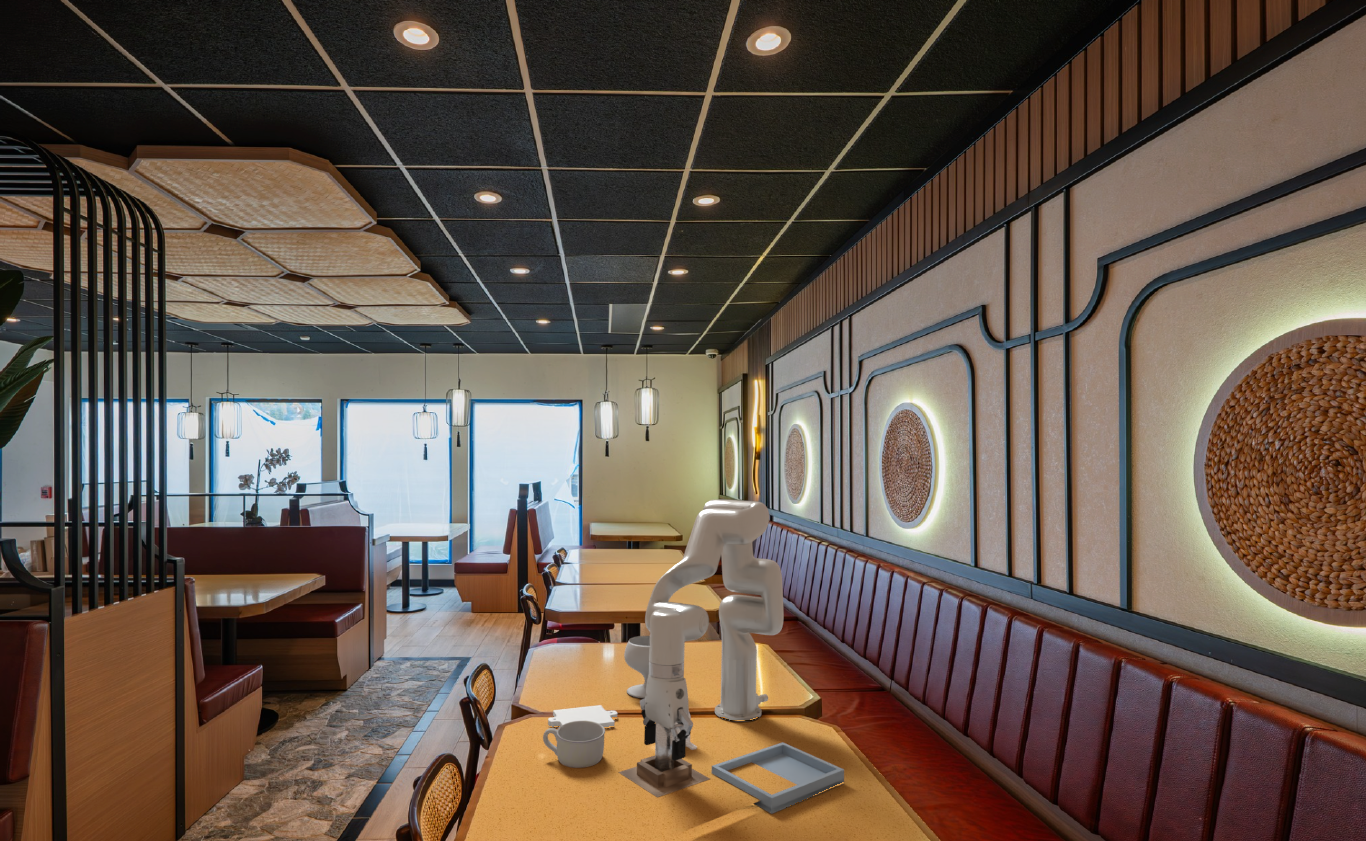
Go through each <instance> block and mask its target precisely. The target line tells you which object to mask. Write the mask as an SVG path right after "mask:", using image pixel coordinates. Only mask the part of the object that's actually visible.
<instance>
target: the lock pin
mask: <svg viewBox="0 0 1366 841" xmlns="http://www.w3.org/2000/svg"><path fill="white" fill-rule="evenodd" d="M674 725H675V723H674ZM673 740H674V737H673V734H672V732H671V729H668V728H666V727H664V726H662V725H660V724H658V723H656V741H655V743H654V745H655V747H654V749H655V750H654V756H655V769H657V770H659V771H660V772H664V771H667V770H670V769H673V768H674V760H672V741H673Z"/></svg>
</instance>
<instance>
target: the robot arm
mask: <svg viewBox="0 0 1366 841" xmlns="http://www.w3.org/2000/svg"><path fill="white" fill-rule="evenodd" d="M769 522H770V513H769V510H768V507H767V506H766V504H765V503H763V502H761V501H753V500H739V499H738V500H735V499H711V500H708V501H706V503H704V506H703V508H702V510H701V511H700V512H698V513H697V515H696V517H695V520H694V522H693V526H692V529H691V533H690V536H689V537H688V538H689V539H688V542H687V544H686V548H685V550H684V554H683V557H682V559H681V560H680V561H679V562H678V563H676V564H674V565H673V566H672V567H671V568H669V569H668V570H667V571H666V572H665V573H664V574H663V575H662V576H661V577H659V579H658V580H657V581H656V583H655V585H654V587H653V589H652V592H651V595H650V597H649V600H648V603H647V606H646V610H645V617H644V622H645V627H646V629H647V631H649V636H650V651H649V675H648V680H647V687H646V697H645V698H641V699H640V700H639V705H640V710H641V711H640V712H641V713H640V714H641V716H642V718H643V720H642V724H643V725H644V736H643V737H644V740H643V744H644V745H645V746H649V745H652V744H655V741H656V723H658V724H660V725H662V726H664V727H666V728H668V729H671V732H672V734H673V737H674V740H673V741H672V760H674V761H675V760H679V759H685V757H686V753H687V752H686V750H687V749H686V739H687V738H688V736H689V735H690V736H691V732H692V729H693V727H694V721H693V720H691V719H692V718H691V719H690V718H689V713H690V711H689V693H688V692H689V691H688V686H687V680H686V678H685V677H684V676H685V675H684V674H685V648H686V647H685V642H689V641H695V640H698V639H700V638H702V637H703V636H704V635H705V634H706V632H707V631H708V628H709V624H710V618H709V614H708V612H707V611H706V610H705V608H703V607H702V606H699V605H697V604H689V603H683V602H676V601H675V602H674V601H670V599H671V598H672V597H673V595H674V594H675V593H676V592H677V591H679V590H680V589H683V588H684V587H686V586H689V585H691V584H695V583H698V582H700V581H703V580H706V579H708V578H711V577H712V576H714V575H715V573H716V572H717V570H718V567H719V563H720V560H721V571H722V572H721V574H722V581H723V583H722V584H723V586H724V588H725V589H727V590H728V591H730V592H734V593H737V594H731V595H727V596H725V597H724V598H722V599H721V600H720V603H719V606H718V617H719V624H720V632H721V633H720V634H721V664H720V665H721V668H720V669H721V670H720V672H721V673H720V703H719V704H717V705H716V706H715V707H714V713H715V715H716V716H717V717H719V718H720V717H725V718H727V719H729V720H728V721H730V720H750V719H753V718H756V717H759V718H761V717H762V709H761V707H760V706H759V705H760V704H762V703H765V702H768V701H769V696H768V694H766V693H764V694H760V695H758V693H757V657H758V656H757V655H758V651H757V650H758V649H757V646H756V645H757V644H756V643H755V640H754V638H753V636H752V634H757V635H763V636H764V635H765V636H775V635H778V634H779V633H780V632H781V631H782V628H783V625H784V617H785V616H784V613H785V612H784V592H783V590H784V589H783V575H782V569H781V567H780V565H779V564H778V563H777V562H776V561H775V560H773V559H767V558H759V557H758V558H757V557H755V556H754V551H753V550H754V549H753V548H754V547H753V542H754V541H755V540H757V539H758V538H759V537H760V536H762V535H763V534H764V533H765V532H766V531H767V528H768V525H769V524H770V523H769ZM738 593H740V594H738ZM742 594H743V595H742ZM744 594H748V595H744ZM753 595H758V596H753ZM674 723H678V724H676V725H674ZM678 728H679V729H680V733H679V734H678V732H677V730H676V729H678Z"/></svg>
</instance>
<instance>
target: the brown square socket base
mask: <svg viewBox="0 0 1366 841" xmlns="http://www.w3.org/2000/svg"><path fill="white" fill-rule="evenodd" d="M618 774H620V775H621V776H623V777H625V778H626V779H628V780H629V781H631V782H632V783H634V784H636V786H639V787H640V788H642V789H643V790H645V791H646V792H647V793H650V794H651V795H652V796H654V797H656V798H660V797H663V796H666V795H669V794H671V793H675V792H677V791H680V790H683V789H685V788H689V787H691V786H695V785H698V784H701V783H703V782H706V781H709V780H711V778H710V777H708V776H706V775H705V774H702V773H701V772H699V771H697V770H696V769H693V764H692V763H690V762H688V761H686V760H684V758H682V759H679V760H675V761H674V768H673V769H670V770H667V771H664V772H660V771H659V770H657V769H655V755H652V756H649V757H645V758H642V759H640V761H638V762H636V766H634V767H630V768H627V769H625V770H621V771H618Z"/></svg>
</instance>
